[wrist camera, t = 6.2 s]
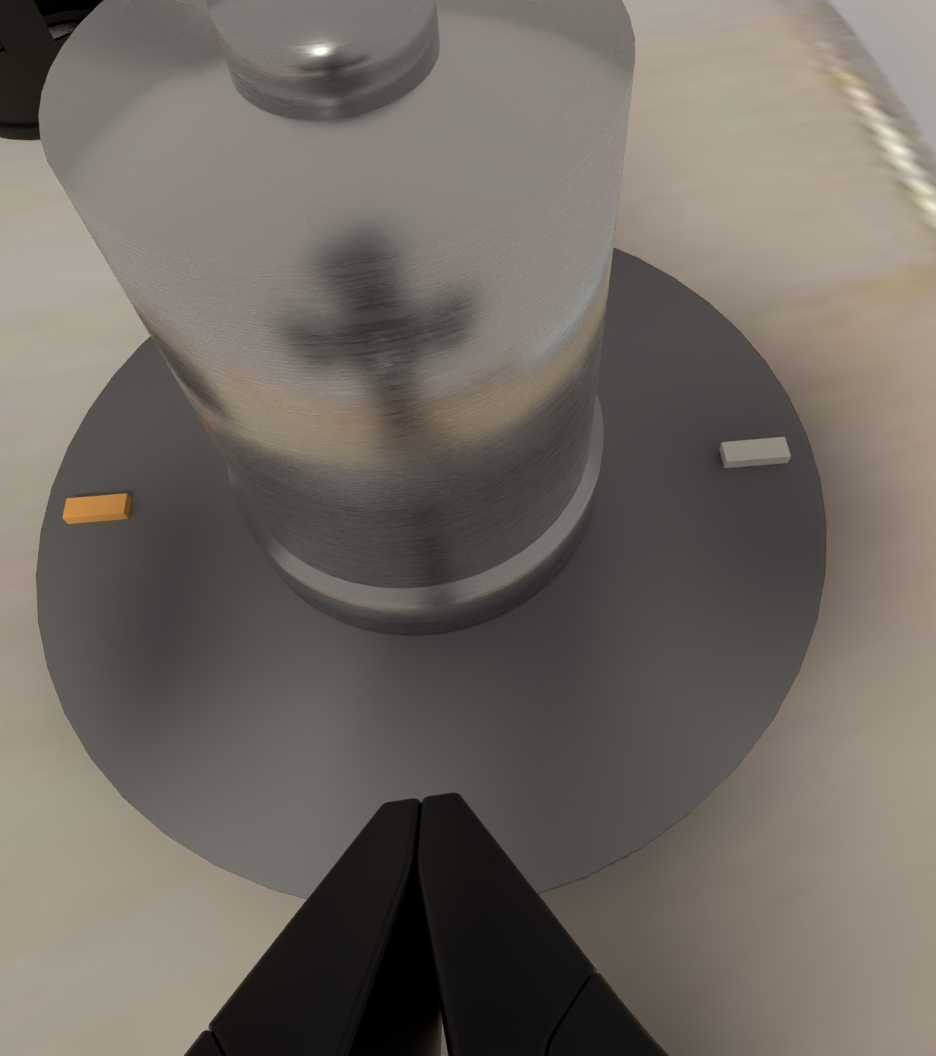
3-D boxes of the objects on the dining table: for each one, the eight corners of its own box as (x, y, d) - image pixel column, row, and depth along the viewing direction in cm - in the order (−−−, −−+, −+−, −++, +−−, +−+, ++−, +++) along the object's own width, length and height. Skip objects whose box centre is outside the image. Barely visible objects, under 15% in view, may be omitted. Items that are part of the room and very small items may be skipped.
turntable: (999, 629, 19) (1024, 610, 18) (194, 1122, 15) (172, 1132, 14) (552, 160, 28) (553, 131, 27) (-18, 400, 24) (-40, 376, 23)
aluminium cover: (668, 526, 20) (825, 24, 9) (336, 704, 18) (76, 337, 8) (488, 298, 24) (458, -231, 13) (204, 426, 22) (-83, -60, 12)
